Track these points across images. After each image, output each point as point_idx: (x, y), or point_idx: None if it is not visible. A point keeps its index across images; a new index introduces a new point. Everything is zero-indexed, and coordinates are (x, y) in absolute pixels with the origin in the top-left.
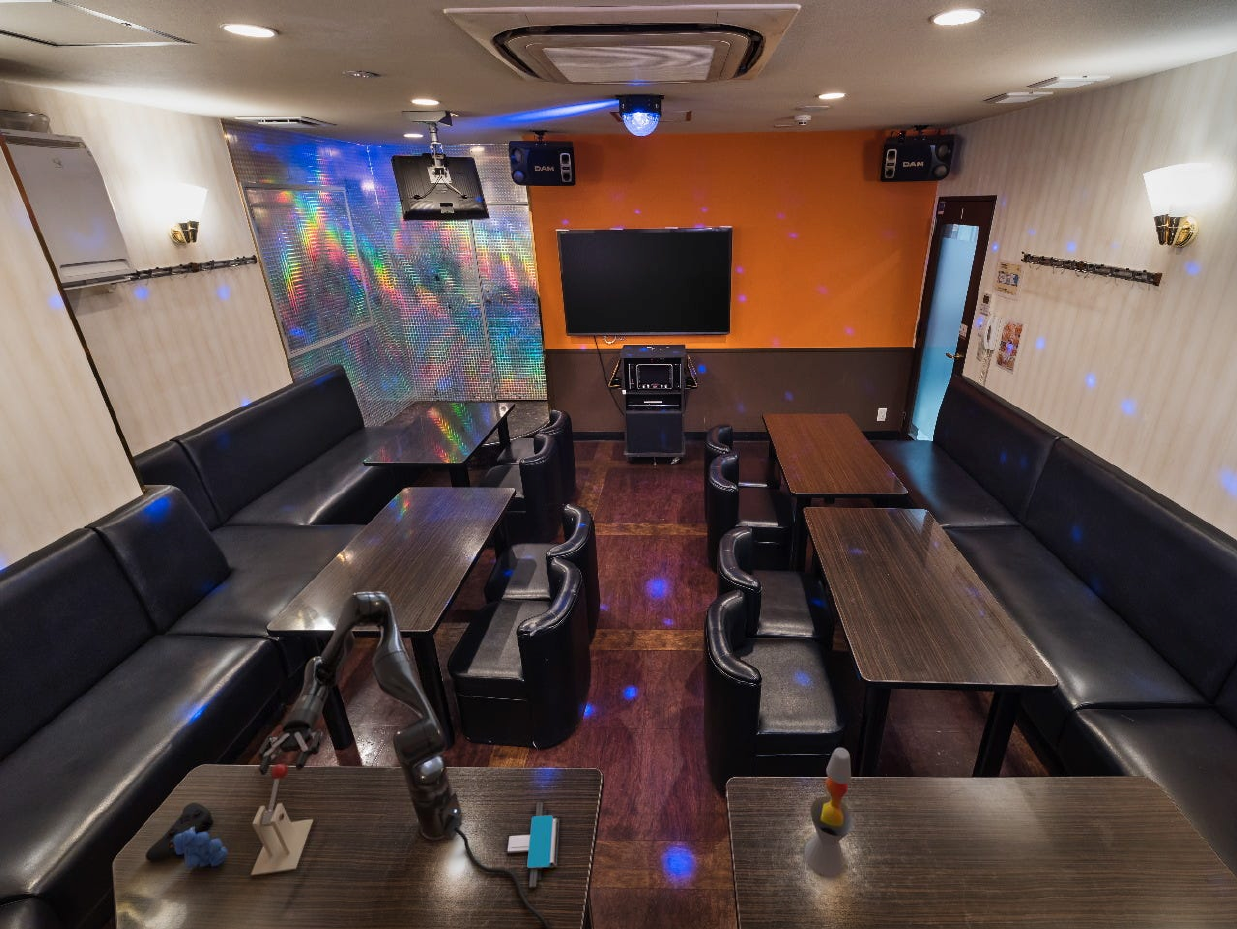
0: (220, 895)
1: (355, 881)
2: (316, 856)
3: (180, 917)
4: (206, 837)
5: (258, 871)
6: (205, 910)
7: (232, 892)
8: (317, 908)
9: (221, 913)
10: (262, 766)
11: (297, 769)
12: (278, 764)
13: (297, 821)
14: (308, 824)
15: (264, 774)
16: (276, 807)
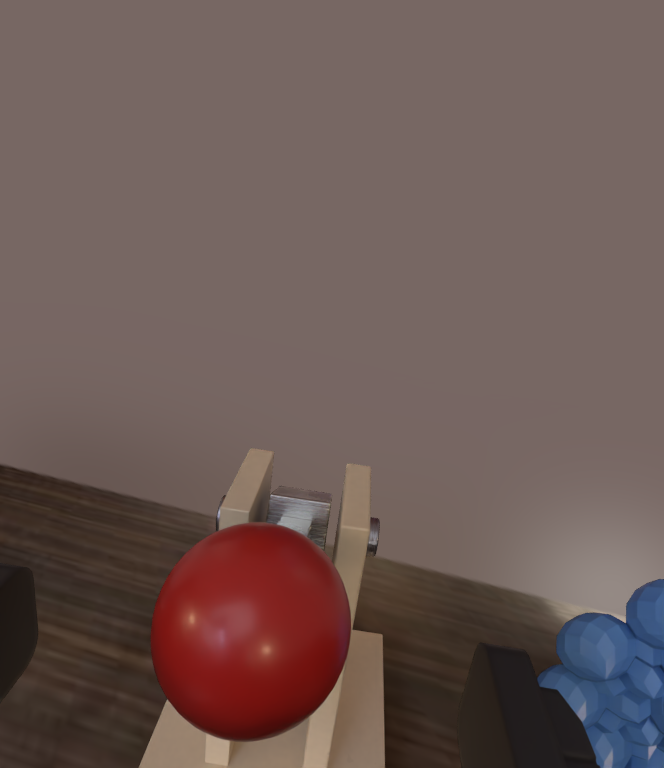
0: (474, 632)
1: (6, 543)
2: (121, 664)
3: (565, 606)
4: (640, 595)
5: (355, 637)
6: (494, 603)
7: (434, 629)
8: (141, 518)
9: (433, 581)
10: (514, 677)
11: (31, 616)
12: (255, 588)
13: None
14: None
15: (460, 704)
16: (252, 493)
